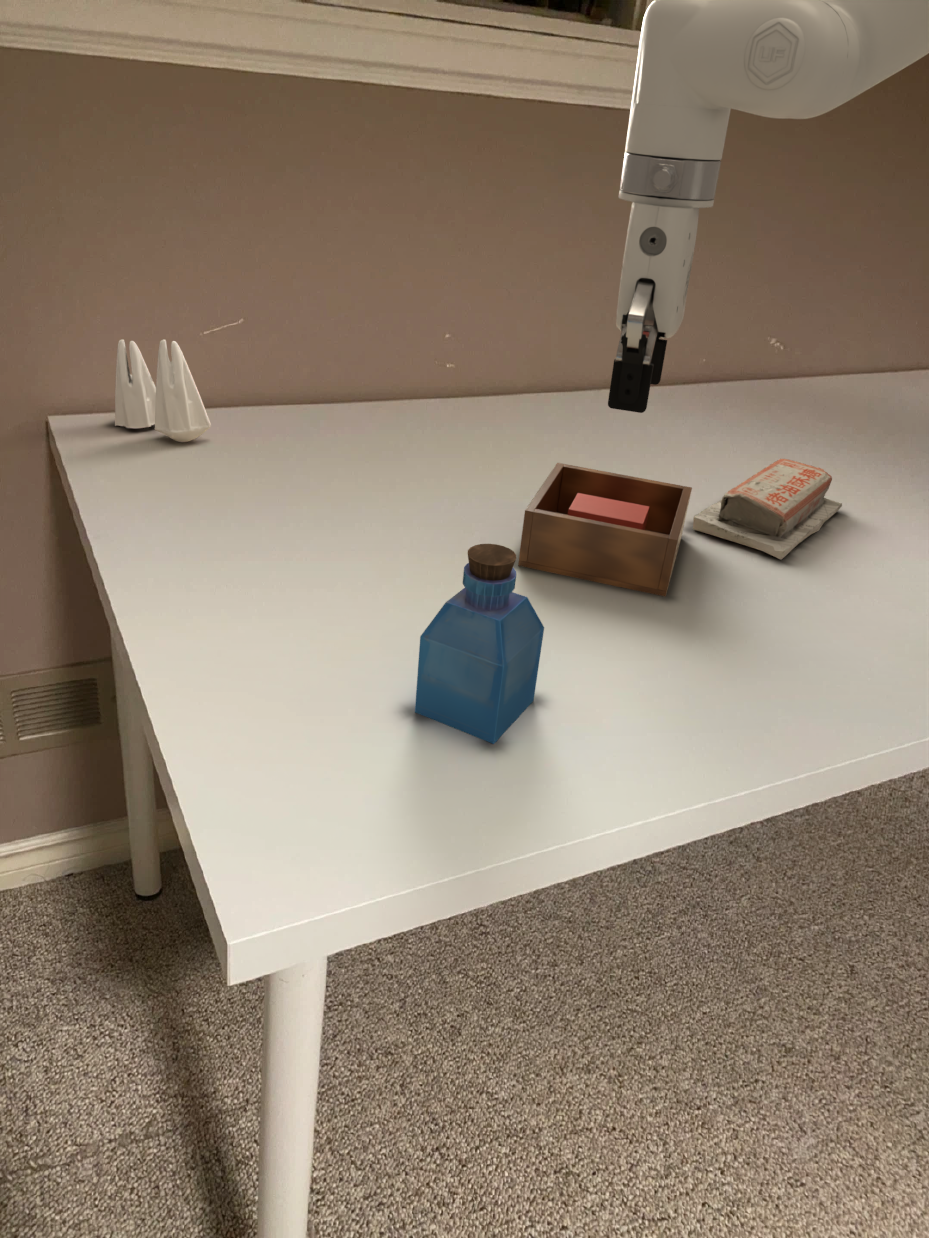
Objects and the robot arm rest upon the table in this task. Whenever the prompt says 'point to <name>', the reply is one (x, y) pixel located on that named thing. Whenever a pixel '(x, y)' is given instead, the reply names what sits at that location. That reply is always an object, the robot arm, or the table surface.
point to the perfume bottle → (481, 650)
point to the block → (609, 511)
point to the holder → (604, 530)
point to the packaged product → (772, 508)
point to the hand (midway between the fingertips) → (634, 395)
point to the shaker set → (158, 394)
